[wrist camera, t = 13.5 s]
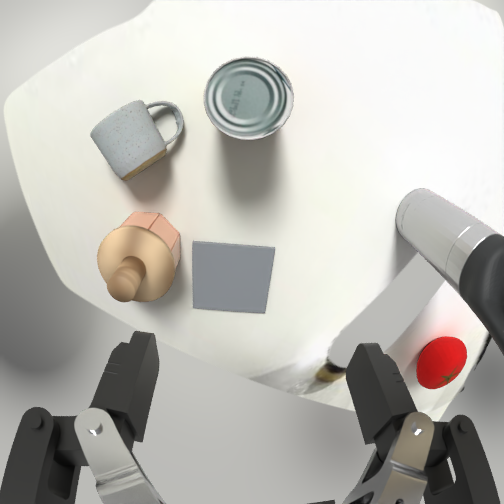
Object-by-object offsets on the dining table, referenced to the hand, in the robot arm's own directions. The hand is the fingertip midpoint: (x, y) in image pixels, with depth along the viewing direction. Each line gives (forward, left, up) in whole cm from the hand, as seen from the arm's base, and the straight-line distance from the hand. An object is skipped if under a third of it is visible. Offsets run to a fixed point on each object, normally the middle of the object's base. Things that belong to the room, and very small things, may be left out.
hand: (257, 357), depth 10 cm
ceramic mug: (+14, -6, -30) cm, 34 cm away
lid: (+14, +11, -24) cm, 30 cm away
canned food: (+1, -10, -30) cm, 32 cm away
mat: (+1, +16, -30) cm, 34 cm away
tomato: (-49, +34, -30) cm, 67 cm away
